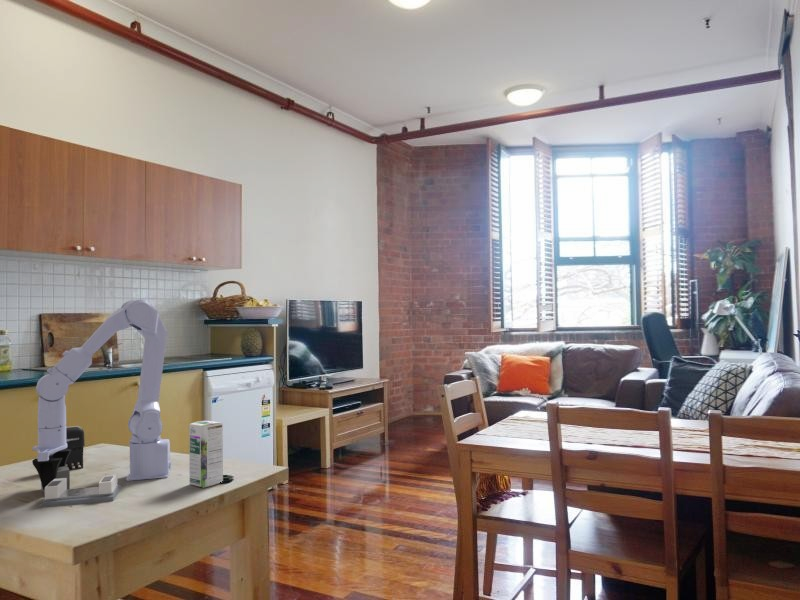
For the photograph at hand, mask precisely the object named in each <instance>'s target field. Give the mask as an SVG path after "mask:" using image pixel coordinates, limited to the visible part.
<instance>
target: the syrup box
mask: <svg viewBox="0 0 800 600" xmlns="http://www.w3.org/2000/svg"><path fill="white" fill-rule="evenodd" d="M223 425H224V423H223V422H220V421H213V420H199V421H198V420H197V421H195V422H192V423H189V427H188V429H189V430H188V431H189V432H188V433H189V435H188V436H189V437H188V438H189V441H188V442H189V445H188V446H189V447H188V448H189V453H188V454H189V457H188V458H189V460H188V461H189V462H188V463H189V464H188V465H189V476H188V477H189V480H188V481H189V483H188V484H189V485H190V486H195V487H200V488H203V489H204V488H208V487H212V486H215V485H219V484H221V483H223V482H224V454H223V453H224V450H223V449H224V443H223V442H224V441H223V440H224V438H223V437H224V435H223V431H224V430H223V429H224V428H223V427H224V426H223ZM222 481H223V482H222ZM220 482H221V483H220Z"/></svg>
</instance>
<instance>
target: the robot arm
mask: <svg viewBox="0 0 800 600" xmlns="http://www.w3.org/2000/svg"><path fill="white" fill-rule="evenodd" d="M129 328H134V330H135V329H136V330H137V332H138V333H139V334H140V335H141V336H142V337H143V338H144V345H143V354H142V362H141V368H140V377H139V382H138V383H139V385H138V391H137V393H138V394H137V401H136V402H135V405H134V406H133V412H132V414H131V416H130V417H129V419H128V423H127V428H128V430H129V432H130V433H131V434H132V435H131V436H130V438H129V473H128V476H126V478H125V481H127V482H130V481H141V480H151V479H163V478H168V477H169V474H170V472H171V470H172V469H171V468H172V462H171V443H170V439H168V438H165V439H164V438H161V437H162V435H161V434H162V433H163V432H162V431H163V422H162V420H161V408H160V402H159V401H160V394H161V387H162V386H161V384H162V378H163V370H164V361H165V354H166V347H167V345H166V344H167V338H168V337H167V336H168V331H167V329H166V326H165V325H164V323H163V321H162V319H161V316H160V315H159V311H158V308H156V306H154V305H153V304H152V303H151V302H150V301H148V300H145V299H142V298H141V299H135V300H128V301H126V302H124V303H123V304H122V305H121V306H120V307H119V308H117V309H116V310H114V311H113V313H111V314H110V315H109V316H108V317H107V318H106V319H105V320H104V321H103V322H102V324H101V325H100V326H98V328H97V329H96V330H95V331H94V332H93V333H92V334H91V336H90V337H89V338H88V339H87V340H86V341H85V342H84V343H83V344H82V345H81V346H80V347H72V348H71V349H69V350H65V351H64V352H62V354H61V355H62V356H63V357H62V358H61V359H59V361H58V362H57V363H56V364H55V365H54V366H53V367H49V368H47V370H46V372H47V373H48V374H46V375H42V377H41V378H39V379H38V381H37V383H36V386H35V391H36V394H38V400H37V405H38V407H37V445H34V446H33V447H31V451H36V452H37V458H33V459H32V462H31V463H32V465H33V467H34V468H35V470H36V472H37V473H38V477H39V479H40V485H41V484H42V488H43V490H45V487H46V486H47V485H48V484H49V483H50V482H51V481H52V480H54V479H56V476H57V471H58V467H62V466H65V465H66V461H67V459H68V456H69V454H70V453H71V449H66V448H67V443H66V427H67V405H66V395H67V394H68V391H69V386H70V385H73V384H74V383H75V382H76V381H77V380H78V379H79V378H80V377H81V376H82V375H83V373H84V372H85V371H87V370H88V368H90V366H92V364H93V355H94V354H95V353H96V352H98V350H99V349H101V347H103V346H104V345H105V343H106V342H108V341H109V340H110V339H111V338H112V337H113V336H114V335H115V334H116V333H118V332H119V331H122V330H126V329H129Z"/></svg>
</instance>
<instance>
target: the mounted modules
mask: <svg viewBox="0 0 800 600" xmlns="http://www.w3.org/2000/svg"><path fill="white" fill-rule="evenodd" d="M118 483H119V482H118V473H107V474H105V475H104V476H103V477H102V478H101V479H100V481H99V482H98V487H99V494H108V493H112V492H113V490H114V489H115V487H116V486H117V485H119V484H118ZM66 489H67V478H59V479H54V480H52V481H51V482H50V483H49V484H48V485H47V486H46V487H45V495H44V498H45V499H54V498H59V497H60V495H61V494H62V493H63V492H64V491H65V490H66Z"/></svg>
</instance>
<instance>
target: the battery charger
mask: <svg viewBox="0 0 800 600" xmlns="http://www.w3.org/2000/svg"><path fill="white" fill-rule="evenodd" d="M85 441H86V440H85V430H84V429H83V428H82V427H81V426H78V425H74V426H73V425H72V426H66V443H67V448H66V449H71V453H70V454H69V456H68V459H67V461H66V465H65V466H66V467H67V468H68V469H69V470H70V471H71V472H72V471H77V470H81V469H82V470H83V469H84V447H85V445H86V444H85Z"/></svg>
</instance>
